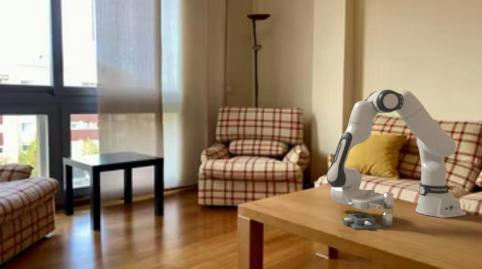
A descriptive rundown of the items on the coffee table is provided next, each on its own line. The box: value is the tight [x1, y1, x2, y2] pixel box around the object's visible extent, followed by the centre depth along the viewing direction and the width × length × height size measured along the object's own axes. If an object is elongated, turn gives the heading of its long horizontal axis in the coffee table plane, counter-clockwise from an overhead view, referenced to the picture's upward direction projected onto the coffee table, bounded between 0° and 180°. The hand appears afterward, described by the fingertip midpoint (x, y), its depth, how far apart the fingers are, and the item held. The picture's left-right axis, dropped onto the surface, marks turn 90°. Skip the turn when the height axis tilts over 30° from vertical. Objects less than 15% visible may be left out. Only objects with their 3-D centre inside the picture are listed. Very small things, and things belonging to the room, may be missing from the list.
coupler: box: [381, 191, 394, 227], centre depth 180 cm, size 4×4×14 cm
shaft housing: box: [341, 212, 382, 231], centre depth 180 cm, size 14×14×4 cm
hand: (386, 205), depth 181 cm, fingers open, 8 cm apart
